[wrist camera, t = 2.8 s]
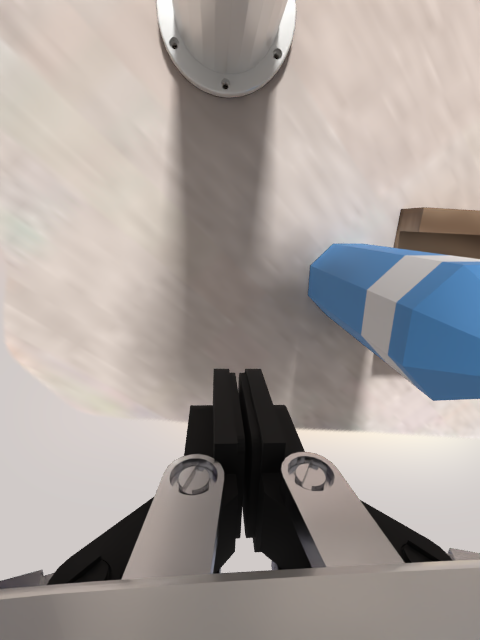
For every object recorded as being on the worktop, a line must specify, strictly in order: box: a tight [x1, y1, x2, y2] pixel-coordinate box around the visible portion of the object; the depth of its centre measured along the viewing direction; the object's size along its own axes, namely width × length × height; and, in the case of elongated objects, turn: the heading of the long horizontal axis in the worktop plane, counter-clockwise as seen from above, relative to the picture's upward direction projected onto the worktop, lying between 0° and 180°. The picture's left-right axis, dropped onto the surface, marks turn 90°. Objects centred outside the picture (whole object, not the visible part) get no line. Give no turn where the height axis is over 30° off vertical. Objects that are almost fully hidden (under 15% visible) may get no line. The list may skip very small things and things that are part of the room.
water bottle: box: [308, 244, 480, 401], centre depth 25 cm, size 9×9×25 cm
